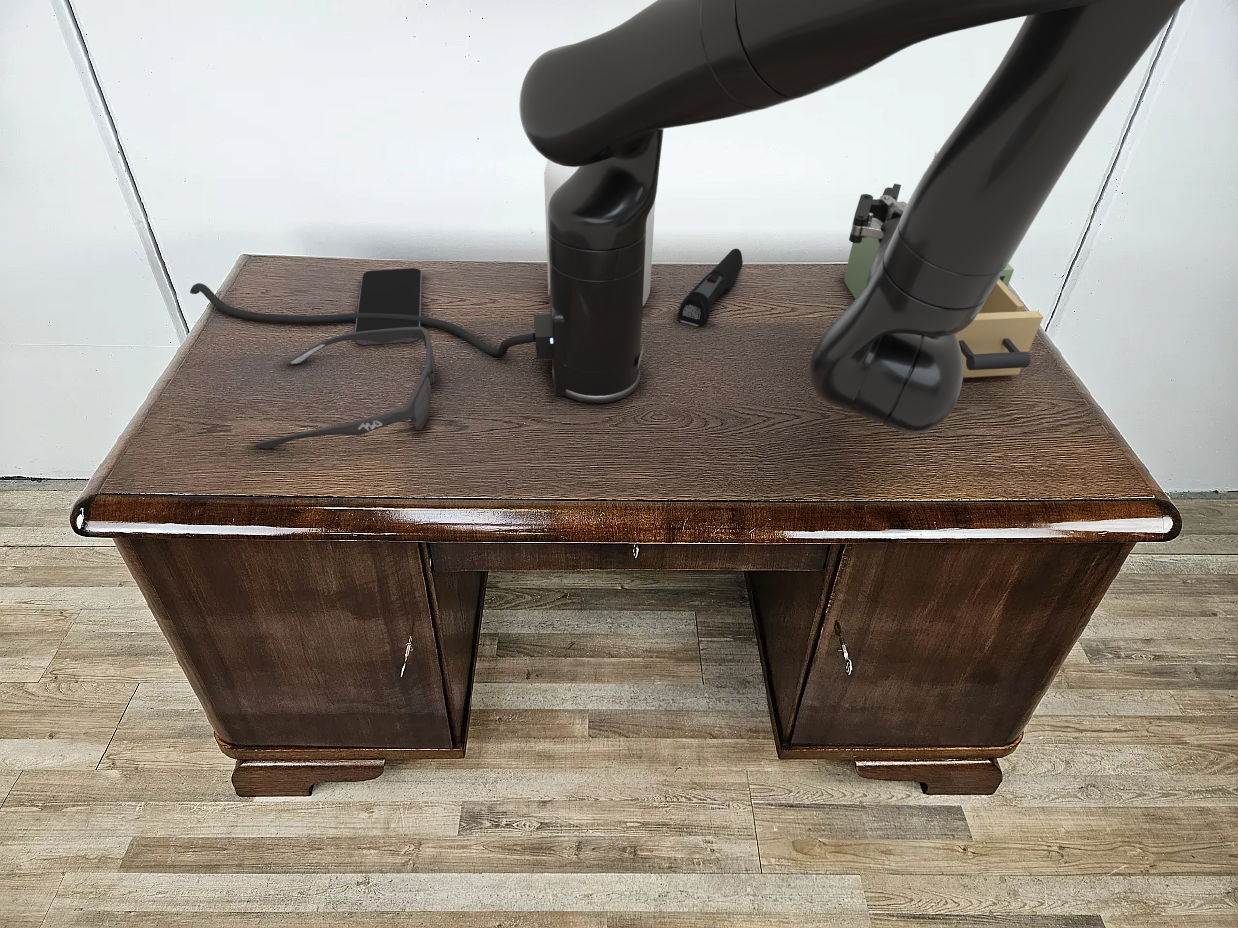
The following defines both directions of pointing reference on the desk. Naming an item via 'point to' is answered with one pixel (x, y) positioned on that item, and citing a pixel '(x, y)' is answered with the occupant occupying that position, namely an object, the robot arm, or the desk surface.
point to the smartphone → (389, 300)
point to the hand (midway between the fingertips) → (938, 201)
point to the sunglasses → (412, 410)
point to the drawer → (998, 336)
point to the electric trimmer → (710, 289)
